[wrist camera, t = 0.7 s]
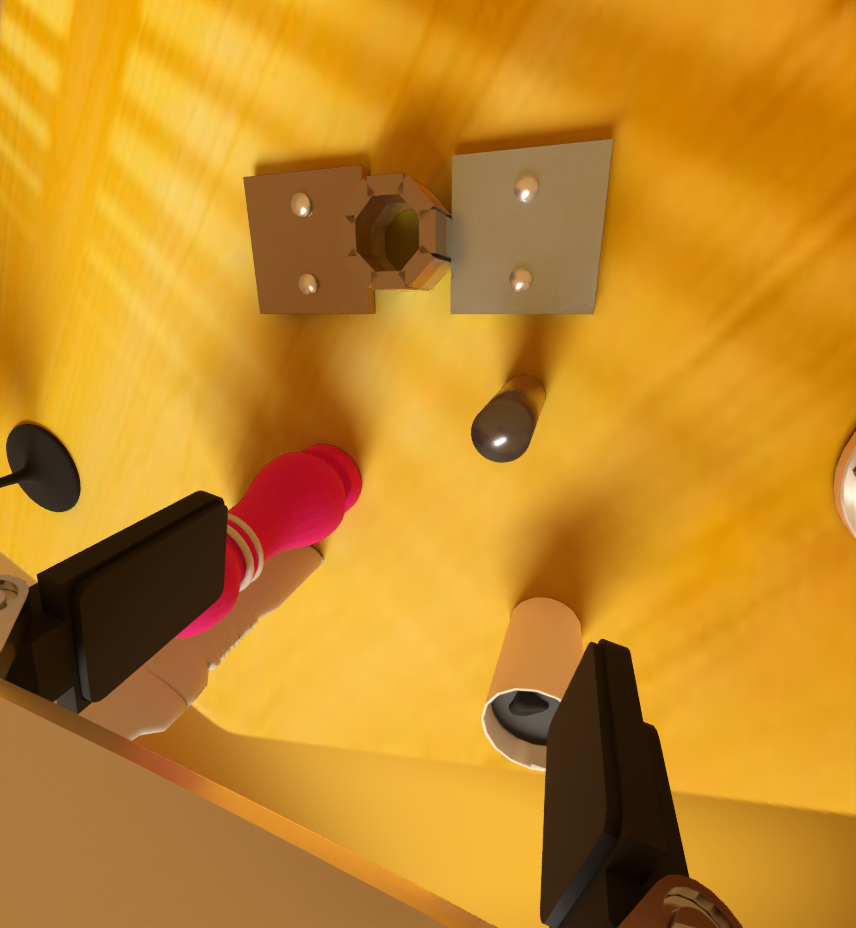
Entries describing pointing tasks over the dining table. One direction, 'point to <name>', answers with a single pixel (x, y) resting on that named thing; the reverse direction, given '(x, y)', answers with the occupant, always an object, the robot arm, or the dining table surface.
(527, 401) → the hinge pin
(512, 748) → the paper coffee cup
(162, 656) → the beige upright panel
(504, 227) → the hinge
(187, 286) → the dining table surface
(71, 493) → the wine glass
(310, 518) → the pepper mill
